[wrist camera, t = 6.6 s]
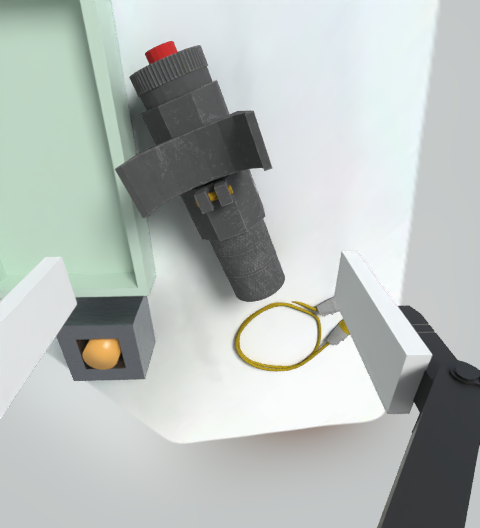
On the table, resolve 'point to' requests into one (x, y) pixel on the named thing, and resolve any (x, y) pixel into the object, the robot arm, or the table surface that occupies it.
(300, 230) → the table surface
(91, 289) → the tray
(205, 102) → the laser sight
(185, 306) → the table surface
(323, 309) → the extension cord
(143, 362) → the grey square holder
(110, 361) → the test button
